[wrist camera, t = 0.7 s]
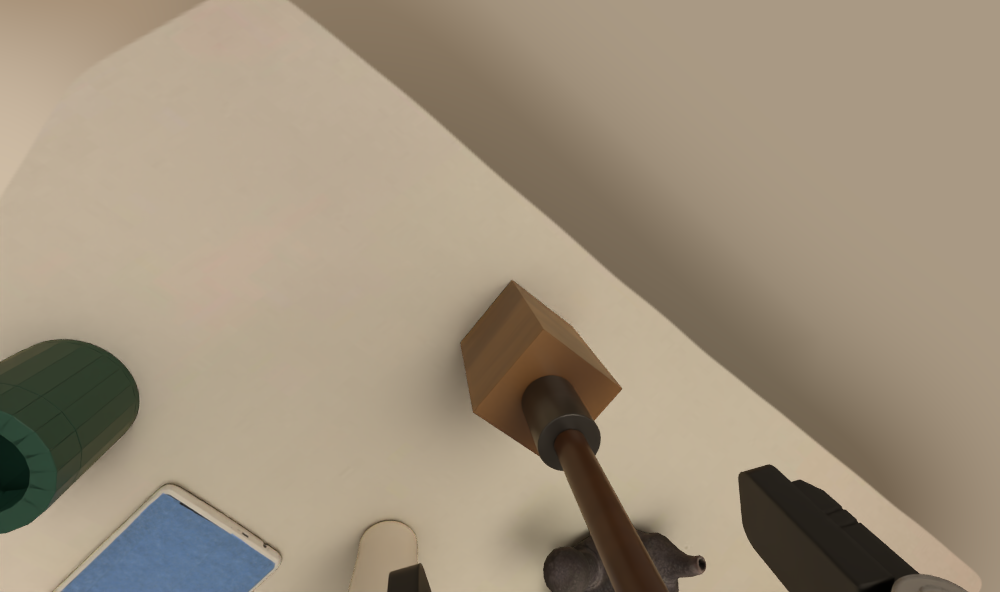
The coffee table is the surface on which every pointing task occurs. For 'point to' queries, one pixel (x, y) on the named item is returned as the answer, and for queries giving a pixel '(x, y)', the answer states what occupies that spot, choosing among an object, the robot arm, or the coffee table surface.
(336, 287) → the coffee table surface
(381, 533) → the white tall cup
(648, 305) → the coffee table surface
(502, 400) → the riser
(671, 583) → the teapot
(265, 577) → the tablet
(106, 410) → the green hollow cylinder
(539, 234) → the coffee table surface
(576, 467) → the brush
